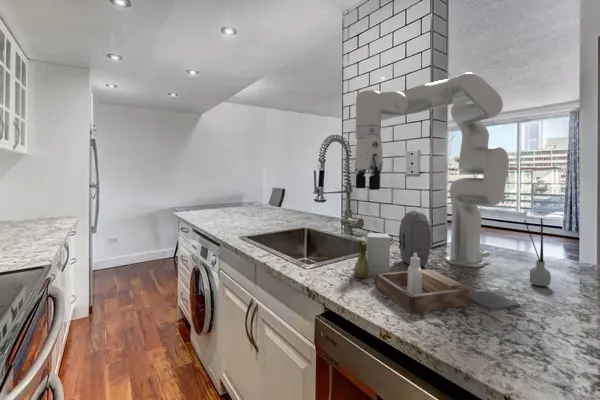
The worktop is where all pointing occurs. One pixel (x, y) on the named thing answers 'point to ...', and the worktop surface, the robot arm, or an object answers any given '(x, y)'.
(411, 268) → the eye dropper bottle
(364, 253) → the fennel bulb
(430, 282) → the wooden block
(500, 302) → the slate mat
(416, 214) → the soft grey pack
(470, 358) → the worktop surface
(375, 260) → the supplement box
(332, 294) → the worktop surface
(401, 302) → the walnut rack
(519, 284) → the worktop surface
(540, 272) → the reed diffuser
